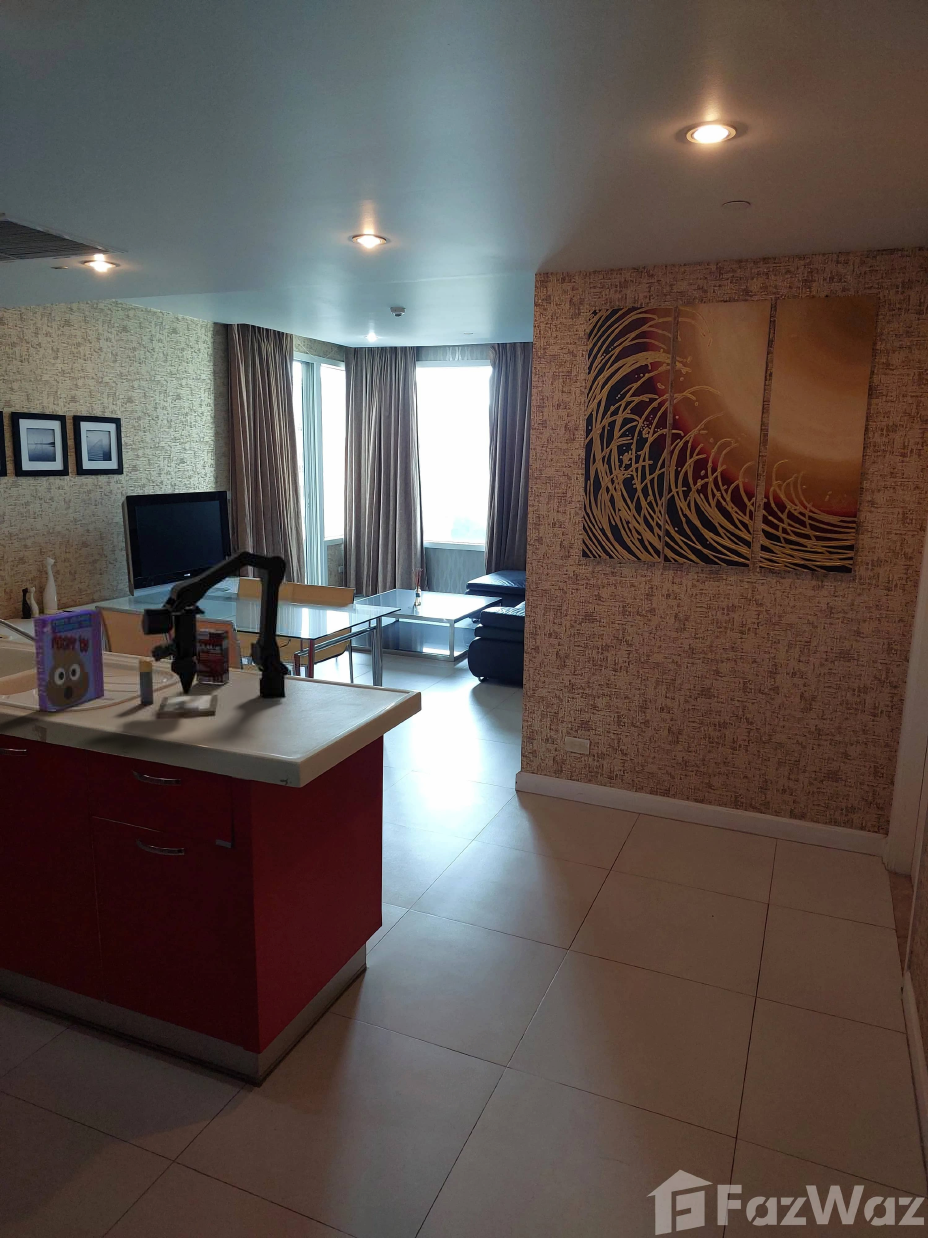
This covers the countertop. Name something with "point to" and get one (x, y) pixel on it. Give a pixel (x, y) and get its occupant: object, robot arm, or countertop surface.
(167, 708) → the clipboard
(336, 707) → the countertop surface
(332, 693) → the countertop surface
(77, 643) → the cereal box
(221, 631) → the supplement box
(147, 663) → the marker
